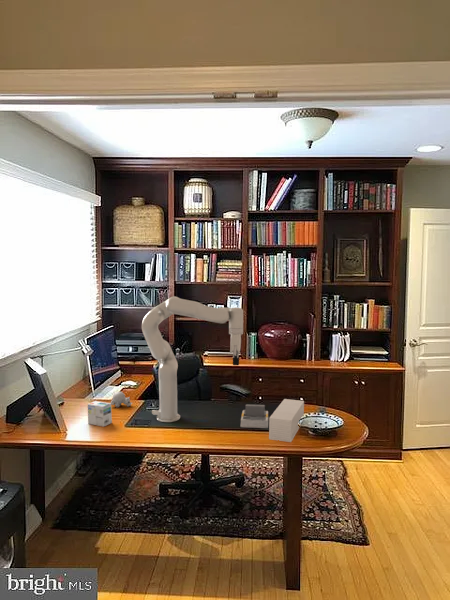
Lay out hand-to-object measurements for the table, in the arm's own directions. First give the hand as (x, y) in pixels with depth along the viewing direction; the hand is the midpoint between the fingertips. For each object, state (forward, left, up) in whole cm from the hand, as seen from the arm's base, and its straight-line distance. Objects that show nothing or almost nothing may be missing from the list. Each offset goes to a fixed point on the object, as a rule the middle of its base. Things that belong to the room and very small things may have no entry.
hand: (235, 364), depth 252 cm
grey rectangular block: (+27, -14, -30) cm, 43 cm away
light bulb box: (-70, -16, -29) cm, 78 cm away
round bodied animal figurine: (-68, +13, -29) cm, 75 cm away
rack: (+10, -6, -29) cm, 32 cm away
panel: (+11, -6, -28) cm, 31 cm away
